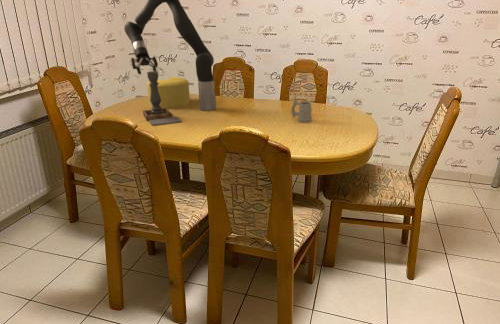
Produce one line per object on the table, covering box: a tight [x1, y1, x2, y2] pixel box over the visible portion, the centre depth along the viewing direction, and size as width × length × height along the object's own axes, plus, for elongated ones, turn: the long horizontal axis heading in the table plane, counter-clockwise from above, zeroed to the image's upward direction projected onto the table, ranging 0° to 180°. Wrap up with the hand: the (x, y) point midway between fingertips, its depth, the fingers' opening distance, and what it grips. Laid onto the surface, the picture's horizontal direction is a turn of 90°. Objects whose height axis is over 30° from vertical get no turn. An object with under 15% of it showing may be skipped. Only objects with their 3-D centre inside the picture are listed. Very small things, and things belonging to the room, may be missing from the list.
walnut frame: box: [142, 108, 173, 122], centre depth 216 cm, size 14×14×2 cm
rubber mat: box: [148, 116, 182, 127], centre depth 206 cm, size 16×10×1 cm, turn 113°
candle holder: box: [146, 70, 164, 115], centre depth 211 cm, size 6×6×25 cm
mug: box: [290, 97, 313, 124], centre depth 202 cm, size 8×12×12 cm, turn 61°
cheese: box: [146, 76, 191, 109], centre depth 242 cm, size 26×26×15 cm
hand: (147, 73), depth 216 cm, fingers open, 8 cm apart
